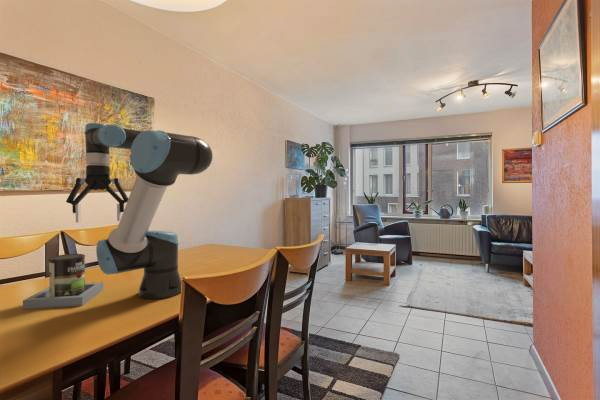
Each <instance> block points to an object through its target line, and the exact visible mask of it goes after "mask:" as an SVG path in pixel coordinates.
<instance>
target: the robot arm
mask: <svg viewBox="0 0 600 400" xmlns="http://www.w3.org/2000/svg"><path fill="white" fill-rule="evenodd" d="M84 135H85V164H86V167H85V178H81V177H76V178H75V184H74V186H73V188H72V190H71V191H70V193H69V195H68V197H67V199H66V200H65V202H66V203H67V204H71V205H72V206H71V207H72V213H73V214H75V223H81V222H82V213H81V212H82V206H81V204H79V203H80V202H82V200H83V199H84V198H85V197H86V196H87V195H88V194H89V193H90V192H91V191H92V190H93V191H104V190H105V191H107V192H108V193H109V194H110V195H111V196H112V197H113V198H114V199H115V200H116V202H118V203H117V204H116V218H117V222H118V225H117V227H116V228H114V229H113V230H111V231H110V233H109V234H108V237H107V238H106V239H105V238H102V239H100V240H98V241H97V242H96V247H95V248H96V249H95V250H96V258H97V259H96V260H97V263H98V266H99V268H100V270H101V272H103V274H106V275H115V274H116V275H118V274H121V273H127V272H132V271H137V270H141V269H143V277H142V279H141V281H140V284H139V288H138V296H139V297H140V298H143V299H147V300H148V299H151V300H155V299H156V300H157V299H164V298H171V297H173V296H176V295H177V296H178V295H179V294H181V293H182V292H181V284H182V283H183V281H182V278H181V275H180V272H179V240H178V234H177V233H176V232H174V231H173V232H172V231H166V230H165V231H164V230H149V228H150V226H151V224H152V222H153V219H154V217H155V216H156V213H157V211H158V208H159V206H160V203H161V201H162V199H163V196H164V194H165V192H166V190H167V187H171V186H173V185H174V184H175V183H176V180H177V178H178V176H179V175H189V176H190V175H198V174H201V173H203V172H205V171H206V170H207V169H208V168H209V167H210V166H211V164H212V161H213V151H212V148H211V147H210V145H209V144H208V142H206V141H205V140H204V139H201V138H199V137H197V136H192V135H184V134H179V133H178V134H177V133H170V132H165V131H164V130H150V129H148V130H144V131H143V130H137V129H131V128H124V127H121V126H120V125H118V124H113V123H111V124H104V123H100V122H92V123H91V122H88V123H86V124H85V130H84ZM110 148H113V149H124V150H130V155H129V160H130V165H131V167H132V168H133V172H134V174H135V175H136V178H135V181H134V182H133V185H132V188H131V192H130V193H129V197H128V196H127V194H126V192H125V190H124V189H123V186H122V185H121V181H120V179H119V178H117V177H114V178H111V175H110V174H111V169H110V166H109V165H110ZM84 183H85V184H86V185H87V186H85V187H84V189H83V190H82V191H81V192H80V193H79V194H78V192H79V191H80V189H81V188H82V185H83V184H84ZM111 183H112V184H113V185H114V186H115V188H116V189H117V191H118V192H119V194H120V195H118V194H117V192H115V190H114V189H113V188H112V187H111V186H110V185H111ZM77 195H78V196H77ZM120 196H121V197H122V198H121V197H120ZM125 204H126V205H125Z"/></svg>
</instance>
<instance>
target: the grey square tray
mask: <svg viewBox="0 0 600 400" xmlns="http://www.w3.org/2000/svg"><path fill="white" fill-rule="evenodd" d="M102 291H104V282H103V281H102V282H85V292H83V293H82V294H80V295H79V296H62V297H50V293H49V286H48V287H46V288H45V289H42V290H40V291H39V292H36V293H35V294H33V295H31V296H28V297H27V298H24V299H23V300H22V309H23V310H30V309H31V310H32V309H33V310H34V309H47V308H48V309H49V308H63V307H64V308H65V307H81V306H84V305H86V304H87V303H88V302H90V301H91V300H92V299H93V298H95V297H96V296H97V295H99V294H100V293H101V292H102Z"/></svg>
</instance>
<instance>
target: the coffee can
mask: <svg viewBox="0 0 600 400" xmlns="http://www.w3.org/2000/svg"><path fill="white" fill-rule="evenodd" d="M85 259H86V255H85V254H83V253H70V254H68V253H67V254H59V255H53V256H50V257H48V259H47V261H48V282H49V285H48V287H49V293H50V297H62V296H79V295H80V294H82V293H83V292H85V283H86V281H85V280H86V279H85V277H86V275H85V272H86V271H85V269H86V267H85V266H86V265H85Z"/></svg>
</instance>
